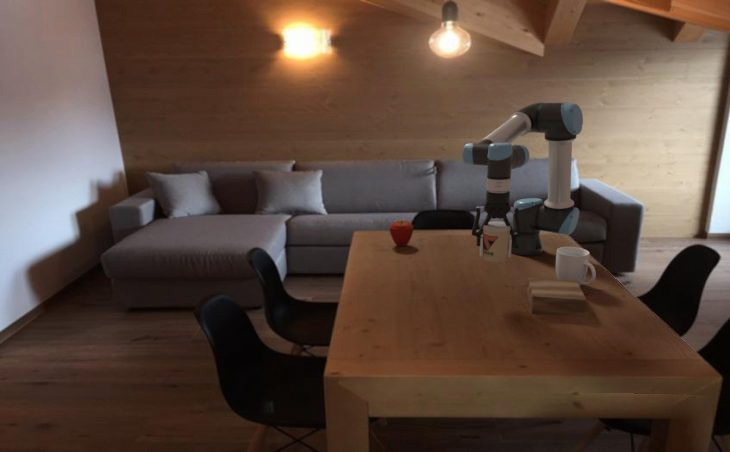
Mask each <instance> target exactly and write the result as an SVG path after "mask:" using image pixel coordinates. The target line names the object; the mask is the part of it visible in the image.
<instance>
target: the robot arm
mask: <svg viewBox="0 0 730 452" xmlns="http://www.w3.org/2000/svg"><path fill="white" fill-rule="evenodd" d="M583 124H584V117H583V112H582V109H581V107H580V106H579V104H577V103H572V102H535V103H531V104H528V105H526V106H523V107H522V108H520V109H518V110H516V111H515V112H514V113H512V114H510V115H509V117H508V120H507V121H505V122H504V123H503V124H501V125H500V126H498V128H496V129H495V130H493V131H492V132H490V133H489V134H488V135H486V136H485V137H484V138H482V139H481V140H480V141H478V142H477V143H475V142H468V143H466V144H465V145H464V146H463V148H462V154H461V155H462V160H463V162H464V163H465V164H467V165H473V166H482V167H483V166H486V167H487V168H486V171H487V172H486V173H487V174H486V190H487V191H486V193H485V195H486V196H485V204H484V206H479V205H477V206H476V208H475V210H476V214H475V218H474V221H473V226H472V230H471V236H475V237H476V246H477V247H479V257H483V227H484V225H486V226H487V225H488V223H489V221H492V219H493V220H494V219H499V220H501V219H503V222H505V224H506V226H510V228H511V229H510V237H509V245H508V253H507V258H512V254H515V255H519V256H520V255H521V256H537V255H541V254H543V248H544V247H543V243H542V239H541V233H540V232H545V233H546V232H547V233H552V234H557V235H563V236H564V235H566V236H568V235H569V236H570V235H571V234H572V233H573V232H574V231H575V229H576V227H577V225H578V221H579V219H580V218H579V217H580V210H579V208H578V207H575V201H574V200H573V199H572V198H571V189H572V187H571V186H572V185H571V184H572V183H571V182H572V160H573V159H572V152H573V150H572V148H573V142H574V141H575V140H576V138H577V136H578V135H580V134H581V132H582V129H583ZM529 133H532V134H533V133H536V134H537V133H540V134H544V140H545V142H547V143H548V158H547V160H548V162H547V163H548V166H547V168H548V169H547V171H548V172H547V173H548V174H547V176H548V177H547V199H546V200H544V202H543V199H541V198H537V197H531V198H530V197H529V198H528V197H527V198H521V199H518V200H516V201H515V202H514V204H513V206H511V205H510V198H511V197H510V196H511V195H510V194H511V192H510V190H511V180H512V179H511V177H512V170H515V169H519V168H522V167H523V166H524V165H526V164H527V163H528V161H529V160H530V152H529V149H528V148H527V147H526V146H524V145H522V144H514V145H512V143H513V142H514V141H515V140H517V139H518V138H519V137H520V136H526V135H527V134H529ZM484 211H485V213H486V216H485V218H484V220H483V222H482V224H481V226H480V227H479V229H478V226H479V222H480V217H481V214H483V213H484ZM510 211H511V214H512V225H511V224H510V221H509V218H508V216H507V215H508V213H509V212H510Z"/></svg>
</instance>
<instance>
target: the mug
mask: <svg viewBox="0 0 730 452" xmlns="http://www.w3.org/2000/svg"><path fill="white" fill-rule="evenodd" d="M589 269H590V271H591V279H590V280H589V281H585V279H586V276H587V275H588V270H589ZM555 274H556V278H557V280H575V281H577V283H578V284H579V286H580V287H581V285H591V284H592V283H593V282H595V280H596V276H597V273H596V267H595V266H594V265H593V264H592V263H590V251H588V250H587V249H584V248H581V247H577V246H561V247H558V248H557V250H556V256H555Z"/></svg>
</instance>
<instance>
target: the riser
mask: <svg viewBox="0 0 730 452" xmlns="http://www.w3.org/2000/svg"><path fill="white" fill-rule="evenodd" d="M526 287H527V288H526V295H527V296H526V297H527V300H528V303H529V307H530V312H531V314H534V315H535V314H536V315H548V316H549V315H550V316H562V317H565V316H567V317H576V318H577V317H579V318H580V317H581V318H585V316H586V308H587V298H586V295H585V294H584V292H583V290H582V289H581V285H580V286H579V284H578V283H577V281H575V280H558V278H557V279H555V278H553V279H552V278H539V277H538V278H533V277H528V278H527V285H526Z"/></svg>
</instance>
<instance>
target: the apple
mask: <svg viewBox="0 0 730 452" xmlns="http://www.w3.org/2000/svg"><path fill="white" fill-rule="evenodd" d="M389 233H390V236H391V239H392V240H393V242H394V244H395V245H396V246H398V247H406V246H407V245H408V244H409V242H410V241H411V239H412V236H413V233H414V225H413V224H412V223H411V222H409V221H406V220H398V221H397V220H396V221H394V222H392V223H391V224H390V225H389Z"/></svg>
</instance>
